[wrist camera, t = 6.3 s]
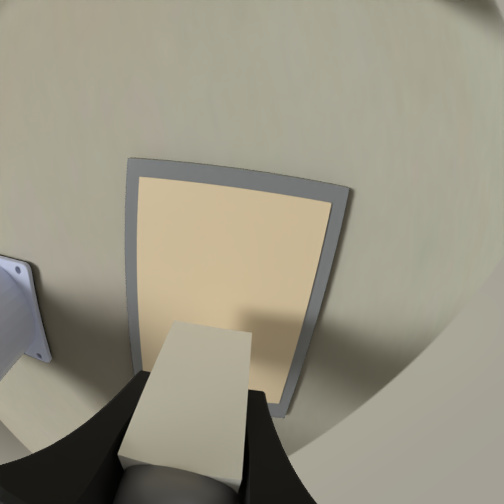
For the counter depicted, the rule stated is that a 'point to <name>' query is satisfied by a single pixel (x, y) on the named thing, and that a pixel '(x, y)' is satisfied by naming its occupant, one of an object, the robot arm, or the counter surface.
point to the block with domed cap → (189, 421)
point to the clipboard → (229, 261)
